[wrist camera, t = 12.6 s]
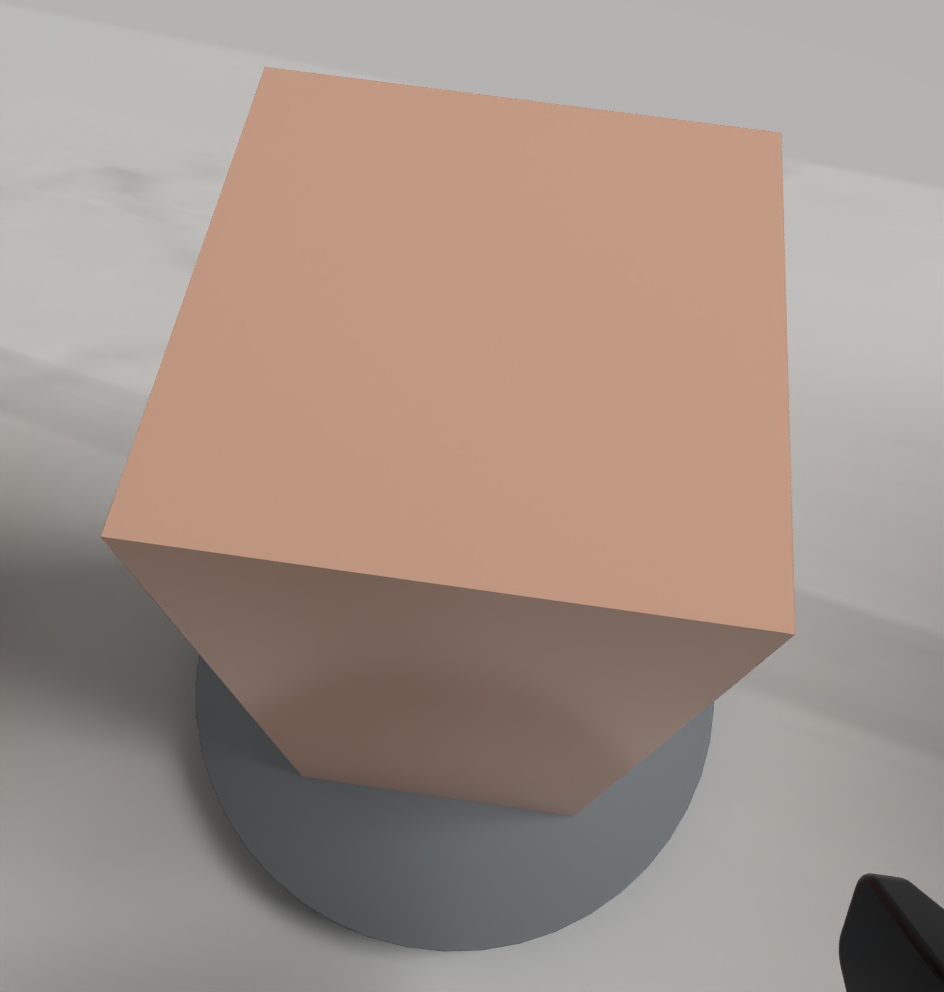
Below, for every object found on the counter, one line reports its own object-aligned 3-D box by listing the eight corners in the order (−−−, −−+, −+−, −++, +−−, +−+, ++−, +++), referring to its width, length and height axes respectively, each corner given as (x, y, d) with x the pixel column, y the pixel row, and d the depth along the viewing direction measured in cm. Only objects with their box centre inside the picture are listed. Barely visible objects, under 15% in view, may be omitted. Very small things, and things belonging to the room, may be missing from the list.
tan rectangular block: (574, 816, 16) (794, 634, 6) (302, 776, 16) (100, 536, 6) (594, 562, 18) (781, 133, 8) (354, 529, 18) (265, 66, 9)
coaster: (436, 1087, 15) (436, 1096, 14) (108, 657, 18) (91, 643, 17) (799, 693, 18) (818, 680, 17) (470, 385, 21) (472, 360, 20)
